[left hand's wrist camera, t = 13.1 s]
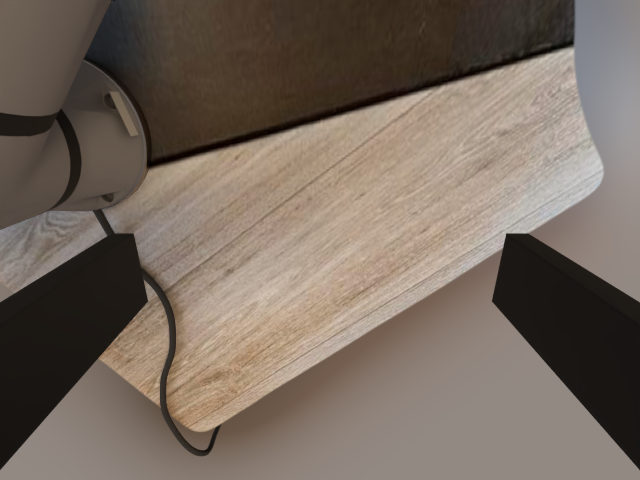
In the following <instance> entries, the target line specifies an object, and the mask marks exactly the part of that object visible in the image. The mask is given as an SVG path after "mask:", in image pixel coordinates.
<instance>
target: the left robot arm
mask: <svg viewBox="0 0 640 480" xmlns="http://www.w3.org/2000/svg"><path fill="white" fill-rule="evenodd" d="M111 1H112V0H0V230H1V229H4V228H6V227H9V226H11V225H14V224H16V223H19V222H21V221H24V220H26V219H29V218H31V217H34V216H36V215H39V214H41V213H44V212H46V211H92V210H93V212H94V213H95V215H96V217H97V219H98V220H99V222H100V224H101V226H102V227H103V229H104V231H105V233H106V234H107V237H106V238H104V239H102V240H101V241H99V242H97V243H96V244H94V245H93V246H91V247H89V248H88V249H86V250H84V251H83V252H81V253H80V254H78V255H76V256H75V257H73V258H71V259H70V260H68V261H67V262H65V263H63V264H62V265H60V266H59V267H57V268H55V269H54V270H52V271H50V272H49V273H47V274H46V275H44V276H42V277H41V278H39V279H37V280H36V281H34V282H33V283H31V284H29V285H28V286H26V287H24V288H23V289H21V290H20V291H18V292H16V293H15V294H13V295H12V296H10V297H8V298H7V299H5V300H3V301H2V302H0V470H1V468H2V467H3V466H4V465H5V464H6V463H7V462H8V460H9V459H10V458H11V457H12V456H13V455H14V454H15V452H16V451H17V450H18V449H19V448H20V447H21V446H22V444H23V443H24V442H25V441H26V440H27V439H28V438H29V436H30V435H31V434H32V433H33V432H34V431H35V430H36V429H37V427H38V426H39V425H40V424H41V423H42V422H43V421H44V419H45V418H46V417H47V416H48V415H49V414H50V413H51V411H52V410H53V409H54V408H55V407H56V406H57V404H58V403H59V402H60V401H61V400H62V399H63V398H64V397H65V395H66V394H67V393H68V392H69V391H70V390H71V389H72V387H73V386H74V385H75V384H76V383H77V382H78V381H79V379H80V378H81V377H82V376H83V375H84V374H85V373H86V371H87V370H88V369H89V368H90V367H91V366H92V365H93V363H94V362H95V361H96V360H97V359H98V358H99V357H100V356H101V354H102V353H103V352H104V351H105V350H106V349H107V348H108V346H109V345H110V344H111V343H112V342H113V341H114V340H115V338H116V337H117V336H118V335H119V334H120V333H121V332H122V330H123V329H124V328H125V327H126V326H127V325H128V324H129V322H130V321H131V320H132V319H133V318H134V317H135V316H136V314H137V313H138V312H139V311H140V310H141V309H142V308H143V306H144V305H145V304H146V303H147V302H148V299H147V294H146V289H145V285H144V280H145V281H146V282H147V283H148V284H149V285H150V286H151V287H152V288H153V289H154V291H155V292H156V293H157V295H158V296H159V298H160V300H161V302H162V304H163V306H164V308H165V311H166V314H167V318H168V322H169V333H170V348H169V354H168V358H167V361H166V364H165V367H164V369H163V373H162V376H161V382H160V405H161V410H162V414H163V416H164V419H165V421H166V423H167V424H168V426H169V428H170V429H171V431H172V432H173V434H174V435H175V437H176V438H177V440H178V441H179V442H180V443H181V444H182V446H183V447H184V448H185V449H187V450H188V451H189V452H191V453H192V454H194V455H197V456H206V455H208V454H209V453H210V452H211V450H212V448H213V446H214V443H215V440H216V437H217V434H218V431H219V429H220V427H221V424H222V423H221V424H219V425H218V426H216V427H215V430H214V432H213V434H212V437H211V440H210V444H209V446H208V448H207V449H206V450H198V449H196V448H194V447H192V446H191V445H190V444H189V443H188V442H187V441H186V440H185V439H184V438H183V436H182V435H181V434H180V432H179V431H178V429H177V428H176V426H175V425H174V423H173V421H172V419H171V418H170V415H169V413H168V410H167V405H166V381H167V376H168V372H169V369H170V366H171V364H172V361H173V358H174V354H175V349H176V326H175V319H174V314H173V311H172V308H171V305H170V303H169V301H168V299H167V297H166V295H165V293H164V292H163V290H162V289H161V287H160V286H159V285H158V284H157V283H156V282H155V280H154V279H153V278H152V277H151V276H149V275H148V274H147V273H146V272H145V271H144V270H143V269H142V268H141V266H140V261H139V256H138V252H137V247H136V242H135V238H134V234H115V233H114V231H113V230H112V228H111V226H110V224H109V223H108V221H107V219H106V217H105V215H104V214H103V212H102V210H101V209H103V208H107V207H109V206H112V205H114V204H116V203H118V202H120V201H122V200H124V199H126V198H127V197H129V196H130V195H131V194H133V193H134V192H135V191H136V190H137V189H138V187H139V186H140V185H141V183H142V182H143V180H144V178H145V177H146V174H147V172H148V169H149V165H150V161H151V138H150V132H149V128H148V125H147V122H146V119H145V116H144V114H143V112H142V110H141V108H140V106H139V104H138V103H137V101H136V100H135V98H134V97H133V95H132V94H131V93H130V91H129V90H128V89H127V88H126V87H125V86H124V85H123V83H122V82H121V81H120V80H118V79H117V78H116V77H115V76H114V75H113V74H111V73H110V72H109V71H107V70H106V69H104V68H103V67H101V66H100V65H98V64H96V63H94V62H92V61H90V60H88V59H85V58H84V57H85V55H86V53H87V51H88V49H89V47H90V44H91V42H92V40H93V38H94V36H95V34H96V32H97V30H98V28H99V26H100V24H101V22H102V19H103V17H104V15H105V13H106V11H107V9H108V7H109V5H110V3H111ZM113 1H115V0H113ZM143 279H144V280H143ZM492 302H493V303H494V304H495V305H496V306H497V308H498V309H499V310H500V311H501V312H502V313H503V314H504V316H505V317H506V318H507V319H508V320H509V321H510V322H511V324H512V325H513V326H514V327H515V328H516V329H517V330H518V332H519V333H520V334H521V335H522V336H523V337H524V338H525V340H526V341H527V342H528V343H529V344H530V345H531V346H532V348H533V349H534V350H535V351H536V352H537V353H538V354H539V356H540V357H541V358H542V359H543V360H544V361H545V362H546V363H547V365H548V366H549V367H550V368H551V369H552V370H553V371H554V372H555V374H556V375H557V376H558V377H559V378H560V379H561V381H562V382H563V383H564V384H565V385H566V386H567V387H568V389H569V390H570V391H571V392H572V393H573V394H574V395H575V397H576V398H577V399H578V400H579V401H580V402H581V403H582V405H583V406H584V407H585V408H586V409H587V410H588V411H589V413H590V414H591V415H592V416H593V417H594V418H595V419H596V420H597V422H598V423H599V424H600V425H601V426H602V427H603V428H604V430H605V431H606V432H607V433H608V434H609V435H610V436H611V438H612V439H613V440H614V441H615V442H616V443H617V444H618V446H619V447H620V448H621V449H622V450H623V451H624V452H625V454H626V455H627V456H628V457H629V458H630V459H631V460H632V462H633V463H634V464H635V465H636V466H637V467H638V468H639V470H640V302H638V301H636V300H635V299H633V298H632V297H630V296H628V295H627V294H625V293H624V292H622V291H620V290H619V289H617V288H615V287H614V286H612V285H611V284H609V283H607V282H606V281H604V280H603V279H601V278H599V277H598V276H596V275H594V274H593V273H591V272H589V271H588V270H586V269H585V268H583V267H581V266H580V265H578V264H577V263H575V262H573V261H572V260H570V259H569V258H567V257H565V256H564V255H562V254H560V253H559V252H557V251H556V250H554V249H552V248H551V247H549V246H547V245H546V244H544V243H543V242H541V241H539V240H538V239H536V238H534V237H533V236H531V235H530V234H506V238H505V242H504V247H503V252H502V256H501V261H500V266H499V271H498V275H497V280H496V285H495V290H494V294H493V299H492Z"/></svg>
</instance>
